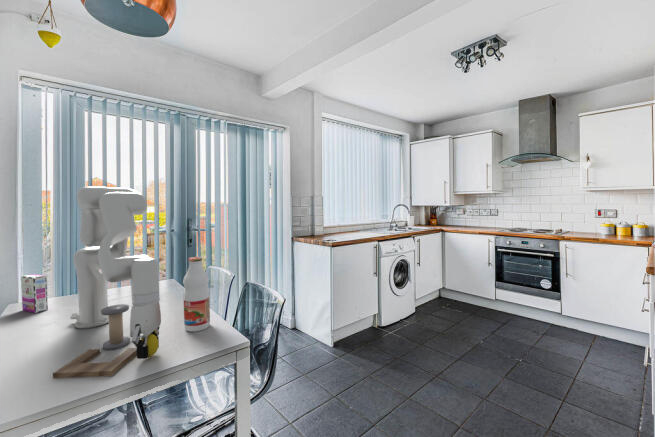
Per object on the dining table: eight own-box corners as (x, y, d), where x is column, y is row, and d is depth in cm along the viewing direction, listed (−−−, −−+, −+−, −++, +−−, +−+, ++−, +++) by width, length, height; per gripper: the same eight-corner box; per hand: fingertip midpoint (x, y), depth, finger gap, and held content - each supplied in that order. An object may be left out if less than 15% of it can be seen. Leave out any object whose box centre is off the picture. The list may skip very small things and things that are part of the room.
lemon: (144, 354, 98) (143, 330, 98) (161, 353, 99) (161, 329, 99) (135, 363, 93) (134, 337, 93) (154, 361, 94) (153, 336, 93)
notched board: (53, 378, 85) (52, 373, 85) (89, 353, 99) (89, 349, 99) (111, 376, 86) (111, 370, 86) (139, 351, 100) (139, 347, 100)
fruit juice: (215, 324, 122) (213, 256, 120) (196, 334, 113) (193, 261, 111) (198, 320, 126) (196, 254, 124) (179, 329, 117) (176, 259, 115)
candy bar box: (49, 310, 141) (47, 275, 140) (35, 313, 136) (33, 277, 135) (35, 307, 145) (33, 273, 144) (21, 310, 140) (19, 275, 139)
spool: (96, 350, 101) (95, 312, 100) (112, 339, 109) (110, 304, 108) (121, 349, 102) (119, 312, 101) (135, 339, 110) (133, 304, 109)
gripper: (148, 290, 103) (150, 341, 104) (116, 307, 86) (119, 368, 87) (170, 289, 104) (172, 340, 105) (143, 306, 87) (145, 367, 88)
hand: (148, 352), depth 96 cm, fingers closed on lemon, 5 cm apart
